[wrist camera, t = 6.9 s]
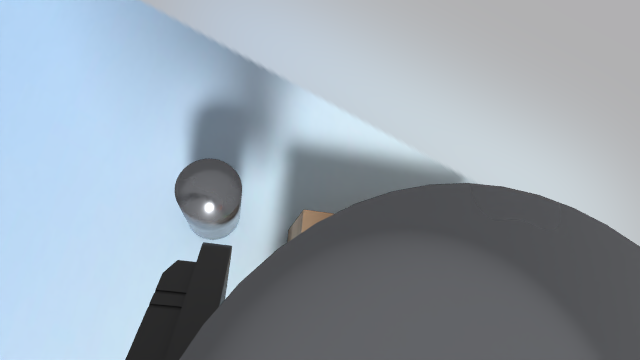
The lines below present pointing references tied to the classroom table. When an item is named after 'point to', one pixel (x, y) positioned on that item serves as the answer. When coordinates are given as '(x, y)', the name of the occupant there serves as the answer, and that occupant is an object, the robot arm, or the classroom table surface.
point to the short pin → (209, 197)
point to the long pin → (438, 285)
